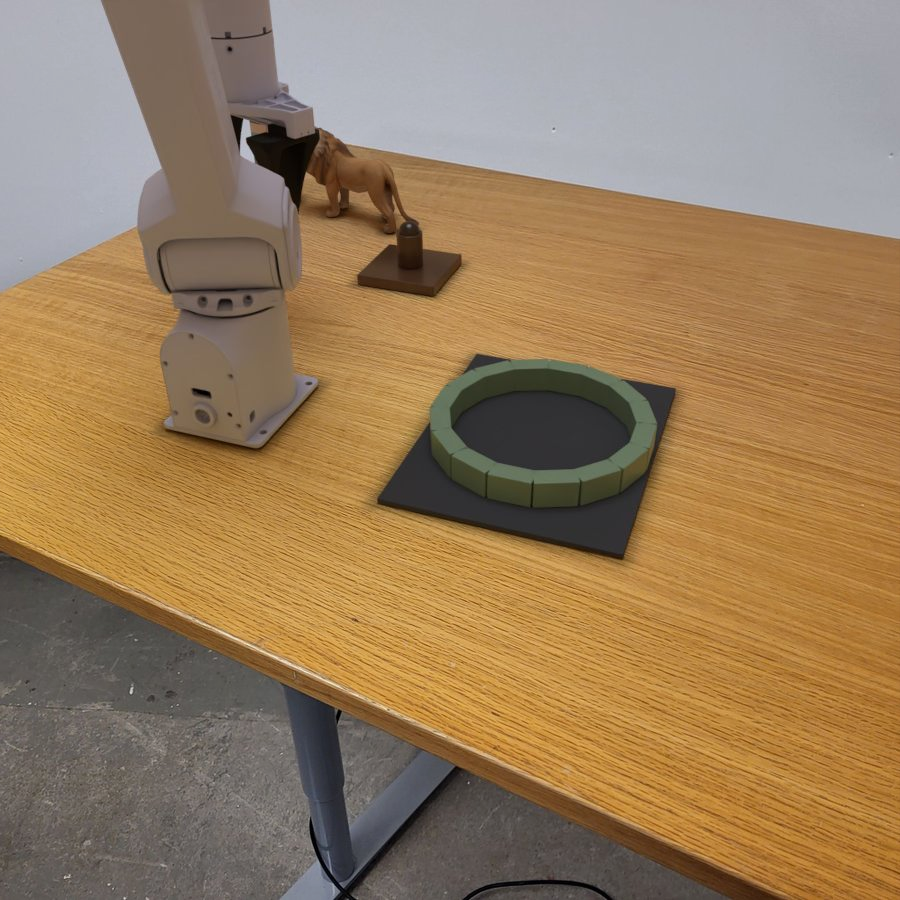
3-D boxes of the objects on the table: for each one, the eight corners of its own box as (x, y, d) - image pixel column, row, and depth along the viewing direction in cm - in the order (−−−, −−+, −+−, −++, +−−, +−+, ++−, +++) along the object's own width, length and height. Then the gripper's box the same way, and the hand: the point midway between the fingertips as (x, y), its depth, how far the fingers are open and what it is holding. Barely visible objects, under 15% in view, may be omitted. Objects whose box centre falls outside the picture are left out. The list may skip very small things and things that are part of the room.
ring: (627, 529, 57) (631, 504, 56) (396, 479, 62) (395, 454, 61) (668, 402, 69) (672, 379, 68) (472, 367, 73) (472, 345, 72)
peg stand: (433, 296, 85) (432, 242, 82) (357, 284, 87) (353, 231, 84) (461, 263, 90) (461, 212, 87) (389, 253, 93) (387, 202, 90)
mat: (622, 559, 56) (623, 554, 56) (377, 503, 60) (376, 498, 60) (675, 392, 71) (676, 388, 71) (476, 357, 76) (476, 353, 75)
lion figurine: (289, 214, 101) (279, 130, 96) (317, 199, 105) (309, 117, 100) (407, 238, 95) (403, 150, 90) (431, 221, 99) (430, 135, 94)
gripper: (339, 36, 68) (351, 215, 76) (219, 10, 76) (242, 175, 84) (261, 53, 64) (283, 241, 71) (144, 24, 72) (175, 196, 79)
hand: (256, 207), depth 77 cm, fingers open, 7 cm apart
